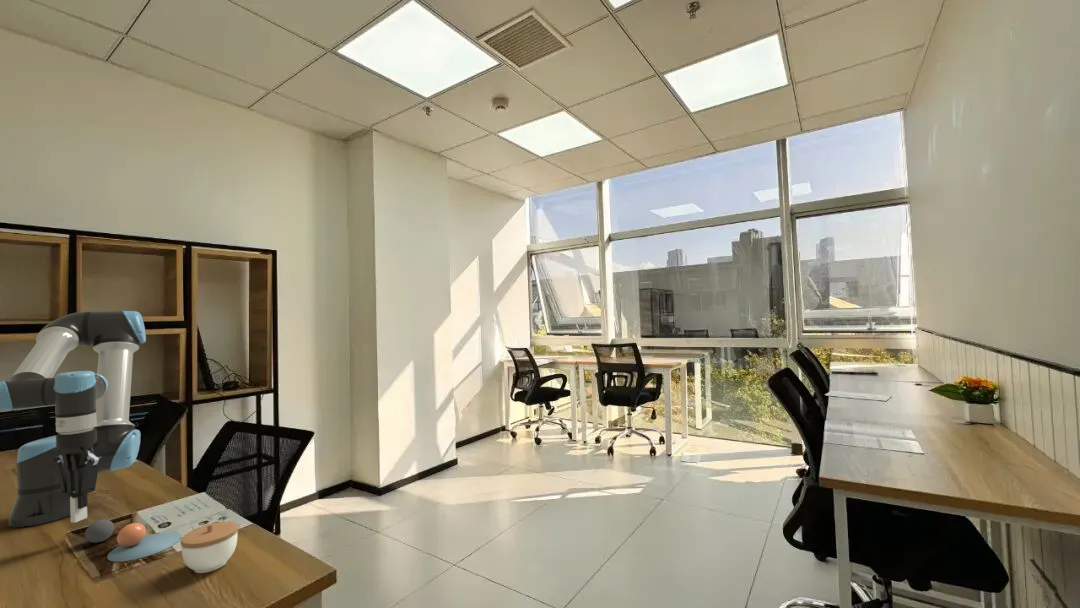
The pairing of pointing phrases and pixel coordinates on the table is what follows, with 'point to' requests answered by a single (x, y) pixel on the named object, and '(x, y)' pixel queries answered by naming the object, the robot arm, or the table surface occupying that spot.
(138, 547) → the slate mark
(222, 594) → the table surface
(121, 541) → the terracotta ball
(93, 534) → the charcoal ball
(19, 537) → the table surface
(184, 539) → the lidded jar
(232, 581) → the table surface
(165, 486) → the table surface
